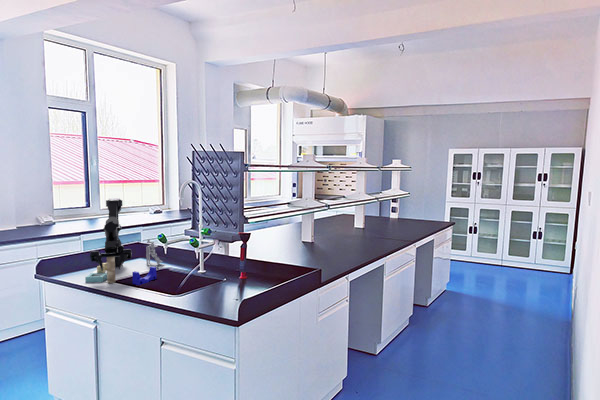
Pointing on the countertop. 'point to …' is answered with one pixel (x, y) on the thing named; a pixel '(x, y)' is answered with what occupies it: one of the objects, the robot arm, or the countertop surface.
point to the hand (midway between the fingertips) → (110, 269)
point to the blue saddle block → (139, 280)
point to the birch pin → (110, 269)
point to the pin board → (98, 274)
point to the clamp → (152, 254)
